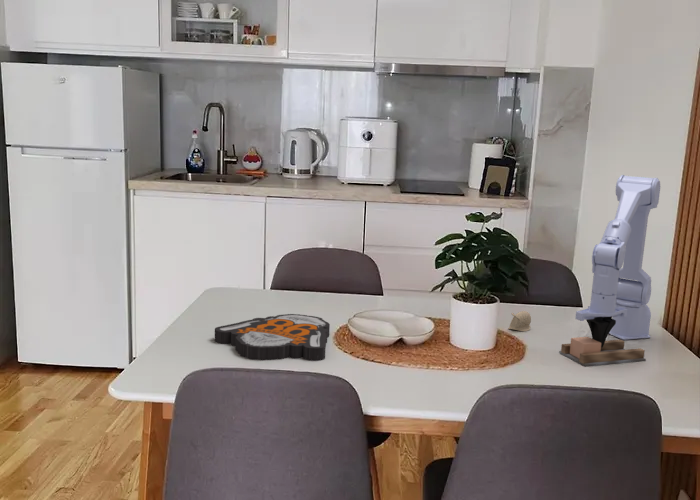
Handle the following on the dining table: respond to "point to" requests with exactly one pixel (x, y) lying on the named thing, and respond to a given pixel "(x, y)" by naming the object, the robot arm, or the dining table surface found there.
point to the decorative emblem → (277, 337)
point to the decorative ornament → (521, 321)
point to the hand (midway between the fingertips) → (597, 346)
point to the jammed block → (584, 346)
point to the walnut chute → (606, 354)
